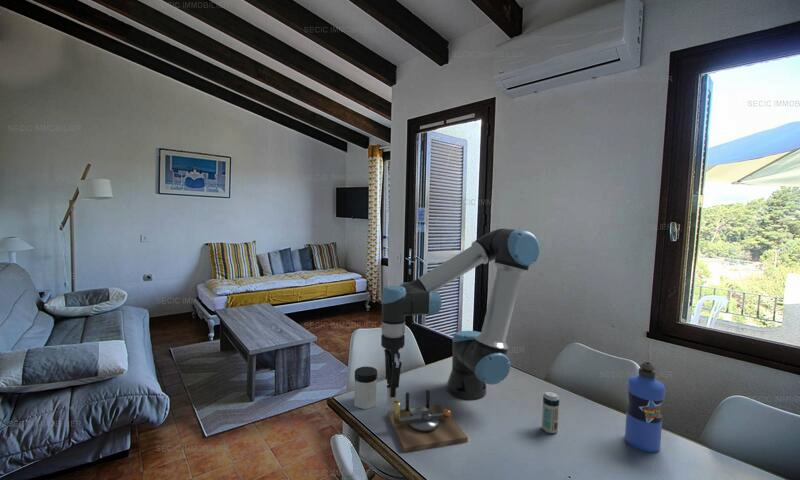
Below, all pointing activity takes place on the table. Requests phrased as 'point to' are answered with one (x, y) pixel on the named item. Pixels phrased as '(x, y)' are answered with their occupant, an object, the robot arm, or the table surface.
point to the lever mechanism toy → (417, 440)
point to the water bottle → (644, 410)
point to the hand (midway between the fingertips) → (391, 404)
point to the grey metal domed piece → (420, 419)
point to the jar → (365, 387)
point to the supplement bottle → (550, 412)
